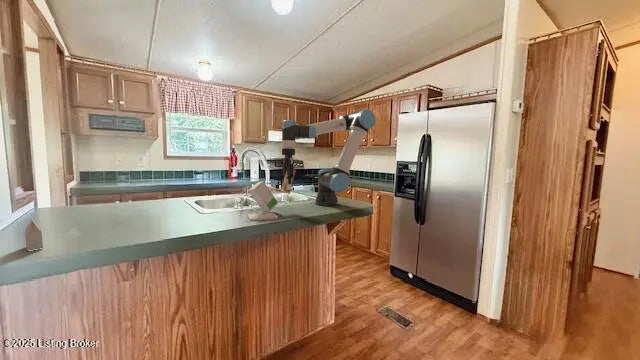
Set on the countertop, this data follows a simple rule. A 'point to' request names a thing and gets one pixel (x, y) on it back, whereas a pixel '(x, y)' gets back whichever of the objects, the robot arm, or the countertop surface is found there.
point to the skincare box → (263, 196)
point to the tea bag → (33, 236)
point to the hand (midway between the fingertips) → (287, 189)
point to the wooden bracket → (284, 184)
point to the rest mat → (262, 216)
